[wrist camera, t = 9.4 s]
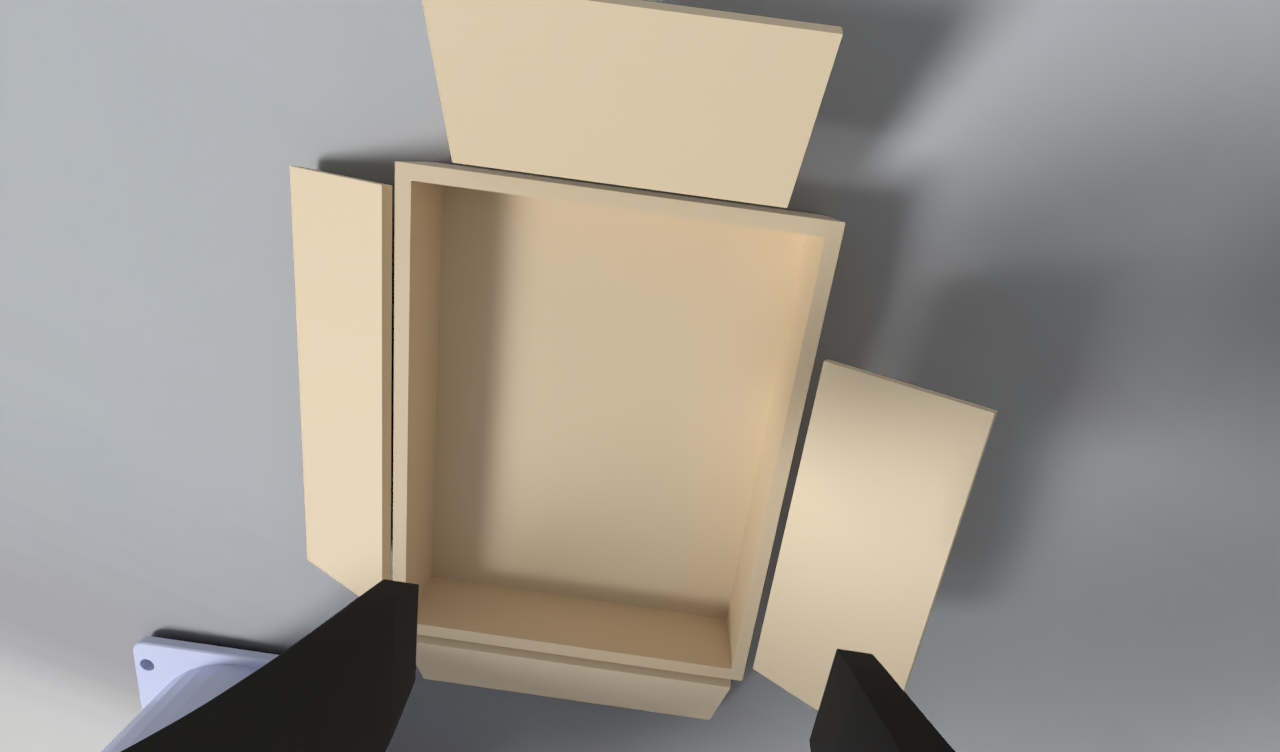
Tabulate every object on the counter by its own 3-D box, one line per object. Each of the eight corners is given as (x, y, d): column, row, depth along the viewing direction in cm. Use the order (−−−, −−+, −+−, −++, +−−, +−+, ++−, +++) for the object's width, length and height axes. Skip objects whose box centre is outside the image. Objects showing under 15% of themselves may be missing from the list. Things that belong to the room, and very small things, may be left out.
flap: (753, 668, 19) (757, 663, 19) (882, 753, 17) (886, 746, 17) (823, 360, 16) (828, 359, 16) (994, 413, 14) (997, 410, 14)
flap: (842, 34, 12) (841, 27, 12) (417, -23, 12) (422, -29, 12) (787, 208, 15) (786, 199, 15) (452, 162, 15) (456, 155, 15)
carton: (719, 708, 23) (724, 772, 21) (320, 650, 24) (279, 707, 21) (825, 215, 18) (849, 223, 15) (300, 143, 18) (241, 140, 16)
